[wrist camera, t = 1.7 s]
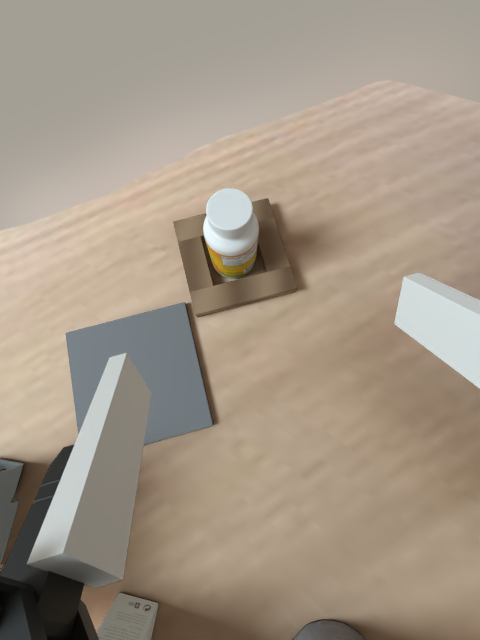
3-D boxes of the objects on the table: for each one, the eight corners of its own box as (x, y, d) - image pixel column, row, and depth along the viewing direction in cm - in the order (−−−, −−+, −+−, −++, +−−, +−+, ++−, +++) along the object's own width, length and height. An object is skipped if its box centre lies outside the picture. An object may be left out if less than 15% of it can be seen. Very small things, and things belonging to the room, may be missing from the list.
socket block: (266, 205, 31) (268, 198, 30) (294, 291, 29) (297, 287, 27) (176, 228, 31) (173, 221, 29) (197, 317, 28) (195, 314, 27)
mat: (185, 303, 29) (184, 302, 28) (213, 424, 26) (212, 425, 26) (69, 333, 28) (65, 333, 28) (85, 459, 26) (81, 462, 25)
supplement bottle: (210, 241, 30) (195, 183, 21) (253, 237, 30) (257, 177, 21) (213, 281, 29) (199, 240, 20) (257, 277, 29) (264, 234, 20)
